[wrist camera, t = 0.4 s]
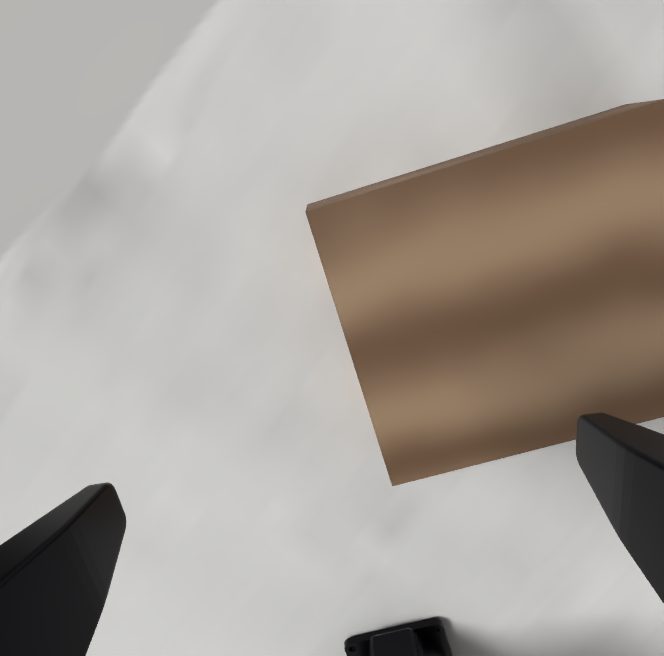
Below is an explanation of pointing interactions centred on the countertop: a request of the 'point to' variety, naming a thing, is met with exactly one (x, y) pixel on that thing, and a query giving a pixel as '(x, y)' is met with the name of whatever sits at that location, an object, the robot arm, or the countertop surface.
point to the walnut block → (505, 291)
